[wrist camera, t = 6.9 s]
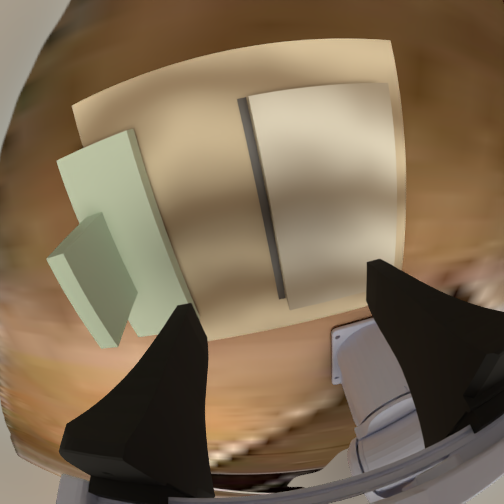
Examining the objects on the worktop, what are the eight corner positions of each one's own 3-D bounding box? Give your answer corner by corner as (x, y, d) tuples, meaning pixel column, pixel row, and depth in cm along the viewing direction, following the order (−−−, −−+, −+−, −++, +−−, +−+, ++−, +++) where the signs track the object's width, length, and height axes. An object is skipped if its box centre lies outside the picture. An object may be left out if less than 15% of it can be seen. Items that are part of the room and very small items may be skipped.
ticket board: (391, 286, 24) (406, 307, 21) (172, 334, 24) (168, 359, 22) (379, 43, 14) (402, 37, 11) (82, 104, 14) (59, 107, 12)
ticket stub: (199, 317, 21) (194, 384, 16) (141, 326, 21) (124, 389, 16) (133, 128, 14) (83, 144, 9) (65, 156, 14) (5, 187, 9)
